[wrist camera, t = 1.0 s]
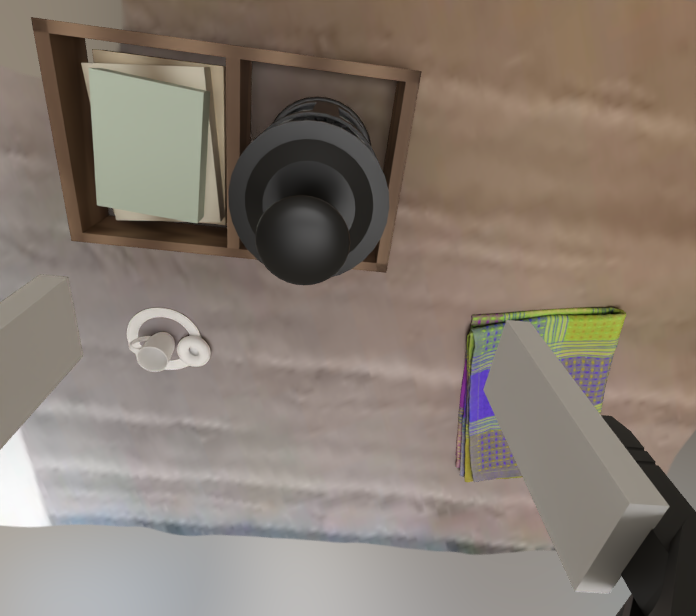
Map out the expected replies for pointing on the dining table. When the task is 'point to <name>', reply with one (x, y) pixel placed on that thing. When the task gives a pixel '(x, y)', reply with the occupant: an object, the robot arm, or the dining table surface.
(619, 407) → the dining table surface
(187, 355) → the teacup and saucer
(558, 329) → the dish towel
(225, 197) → the pine offcut bottom
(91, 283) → the dining table surface
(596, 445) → the robot arm
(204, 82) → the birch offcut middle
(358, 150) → the french press
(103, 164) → the sage offcut top
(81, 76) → the walnut tray
